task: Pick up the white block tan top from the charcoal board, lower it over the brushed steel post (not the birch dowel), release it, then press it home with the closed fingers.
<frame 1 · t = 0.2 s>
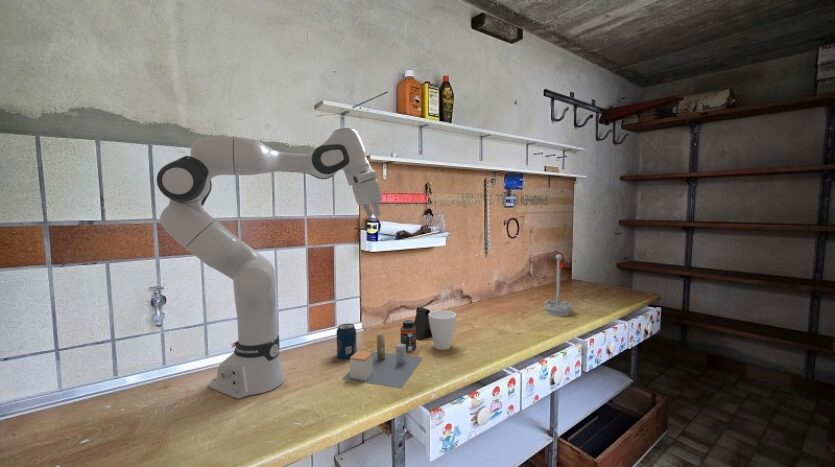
hand: (373, 216, 120), 51 cm above the workbench, tool tilted 20°, fingers open, 8 cm apart
board: (385, 370, 118), on the workbench
flag stand: (557, 313, 179), on the workbench
steel post: (401, 362, 121), resting on board
soda can: (347, 359, 128), on the workbench
door stopper: (423, 336, 149), on the workbench
birch dowel: (381, 358, 125), resting on board
cup: (442, 349, 136), on the workbench
white block tan top: (361, 375, 113), point 1 cm above the workbench, touching board
supplement bottle: (408, 350, 134), on the workbench
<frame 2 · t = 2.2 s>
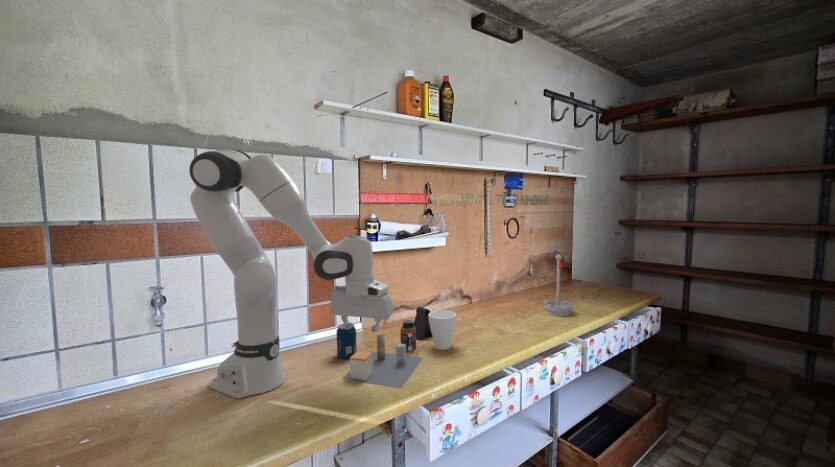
hand: (361, 330, 112), 16 cm above the workbench, tool pointing down, fingers open, 8 cm apart
nothing on the workbench moved.
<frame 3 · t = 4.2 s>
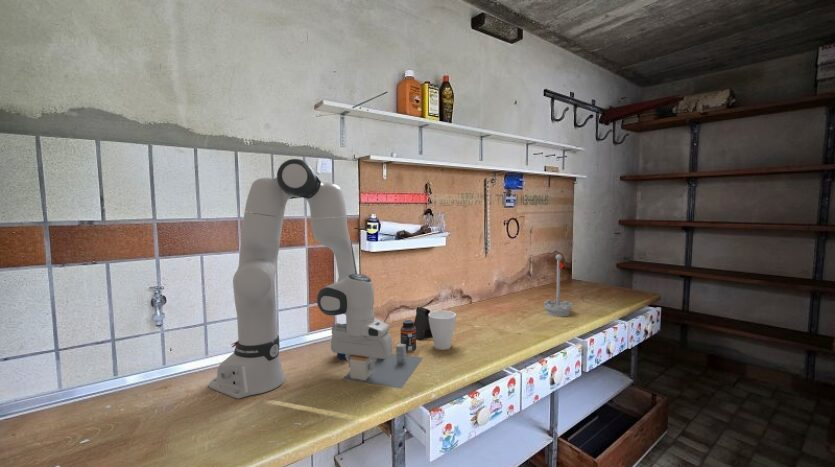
hand: (361, 368, 113), 3 cm above the workbench, tool pointing down, fingers closed on white block tan top, 5 cm apart
white block tan top: (361, 375, 113), point 1 cm above the workbench, touching board, gripper
everything else where it was.
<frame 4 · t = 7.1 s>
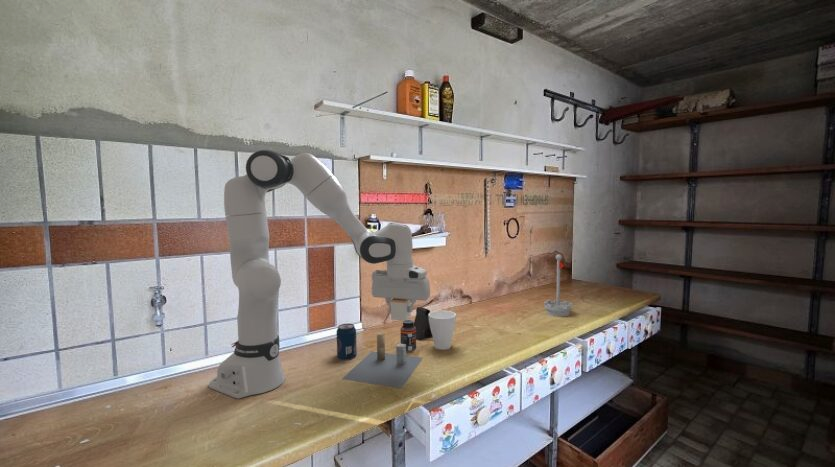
hand: (400, 311, 120), 19 cm above the workbench, tool pointing down, fingers closed on white block tan top, 5 cm apart
white block tan top: (400, 317, 120), point 17 cm above the workbench, touching gripper
everything else where it was.
when the fingers open (6 cm above the workbench, at t = 10.0 s): white block tan top drops 2 cm, resting on steel post.
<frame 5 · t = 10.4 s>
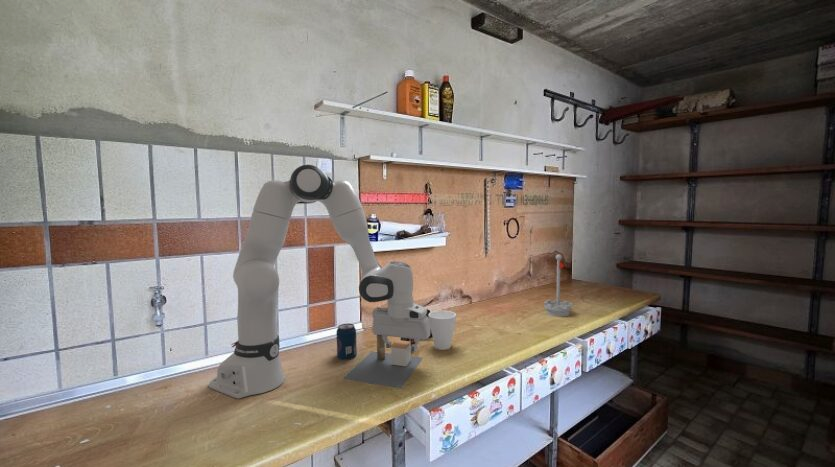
hand: (401, 349, 121), 6 cm above the workbench, tool pointing down, fingers open, 8 cm apart
white block tan top: (401, 362, 121), point 1 cm above the workbench, touching steel post
everything else where it was.
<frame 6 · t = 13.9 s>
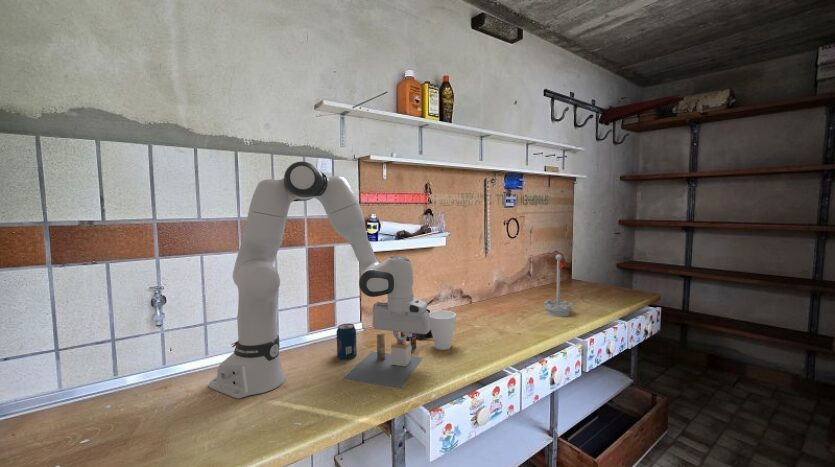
hand: (401, 343, 121), 8 cm above the workbench, tool pointing down, fingers closed, pressing on white block tan top
white block tan top: (401, 362, 121), point 1 cm above the workbench, touching gripper, steel post
everything else where it was.
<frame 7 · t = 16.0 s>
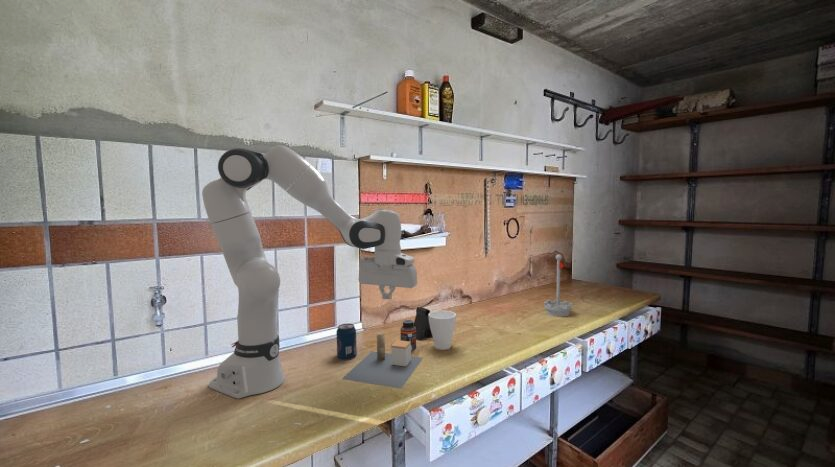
hand: (386, 298, 119), 24 cm above the workbench, tool pointing down, fingers closed
white block tan top: (401, 362, 121), point 1 cm above the workbench, touching steel post
everything else where it was.
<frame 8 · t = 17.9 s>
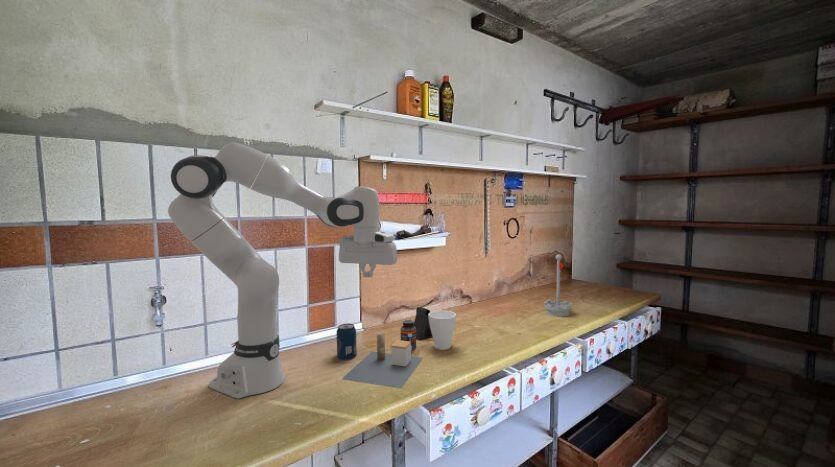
hand: (367, 277, 119), 31 cm above the workbench, tool pointing down, fingers closed
nothing on the workbench moved.
at the end: white block tan top 0.0 cm off-centre on the steel post, point 0.2 cm above the steel post's base; white block tan top tilted 0°; the gripper is holding nothing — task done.
